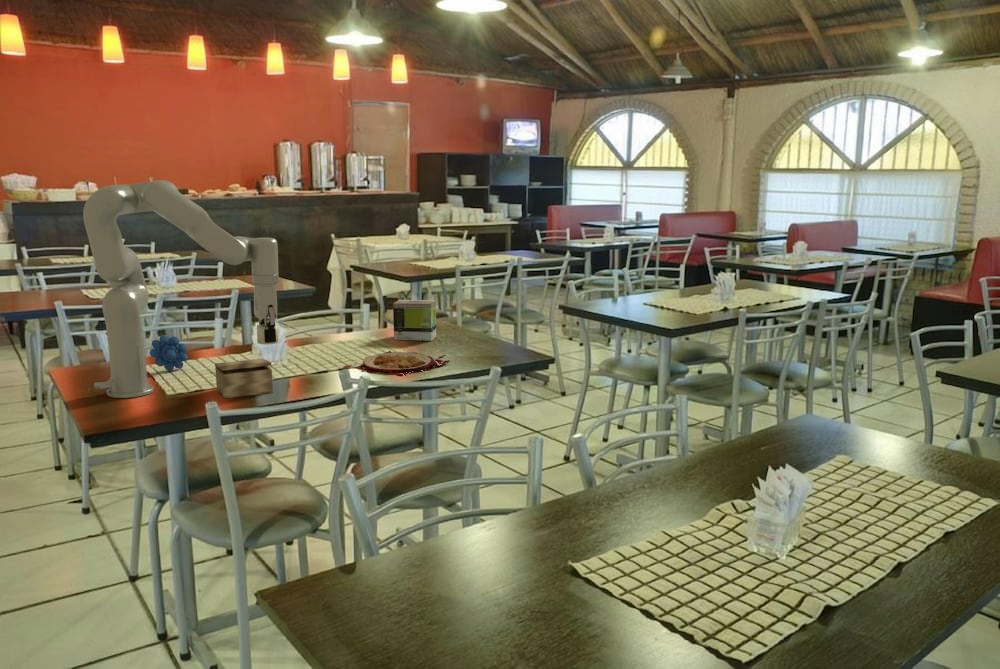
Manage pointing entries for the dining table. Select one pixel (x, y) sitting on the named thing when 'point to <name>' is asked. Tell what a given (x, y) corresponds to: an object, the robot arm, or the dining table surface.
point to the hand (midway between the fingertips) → (267, 339)
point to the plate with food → (398, 362)
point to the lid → (242, 364)
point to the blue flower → (169, 352)
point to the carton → (244, 381)
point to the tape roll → (261, 334)
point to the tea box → (414, 320)
